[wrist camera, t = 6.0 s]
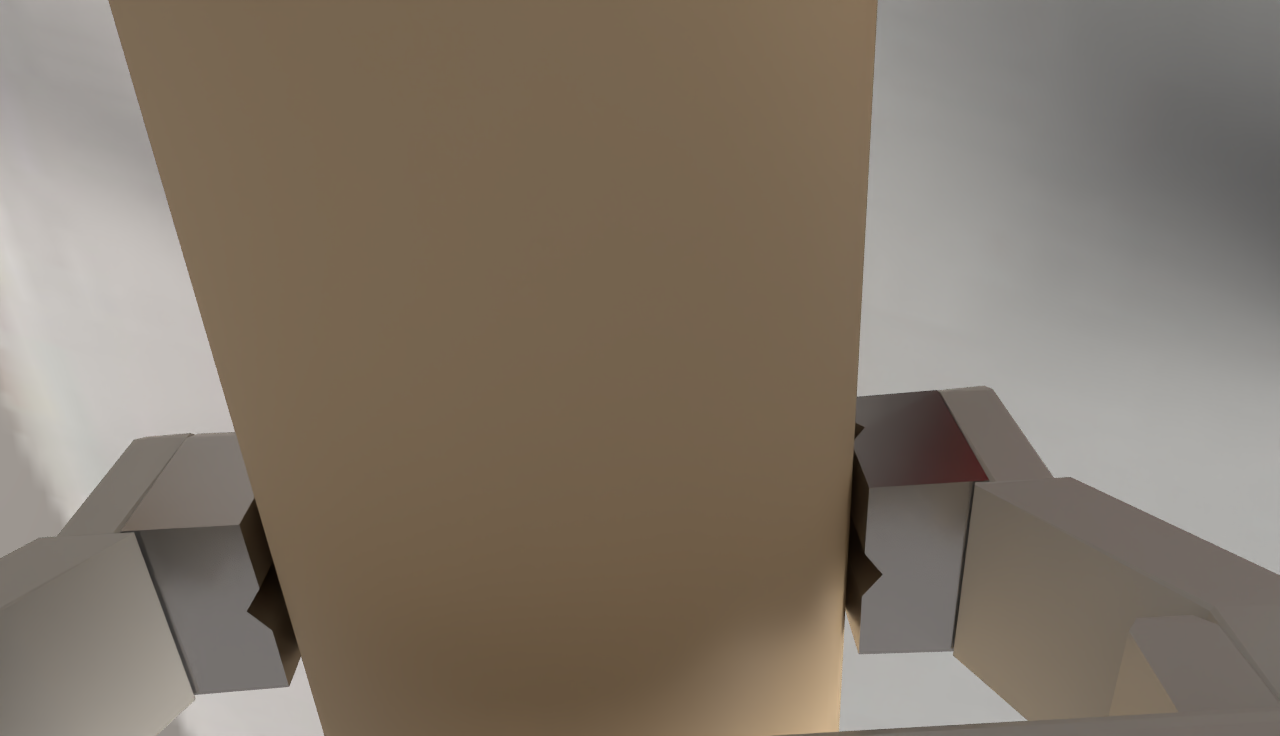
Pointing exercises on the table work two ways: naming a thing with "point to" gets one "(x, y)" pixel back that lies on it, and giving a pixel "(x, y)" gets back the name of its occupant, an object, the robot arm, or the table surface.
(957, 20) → the table surface
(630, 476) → the cylinder
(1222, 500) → the table surface
